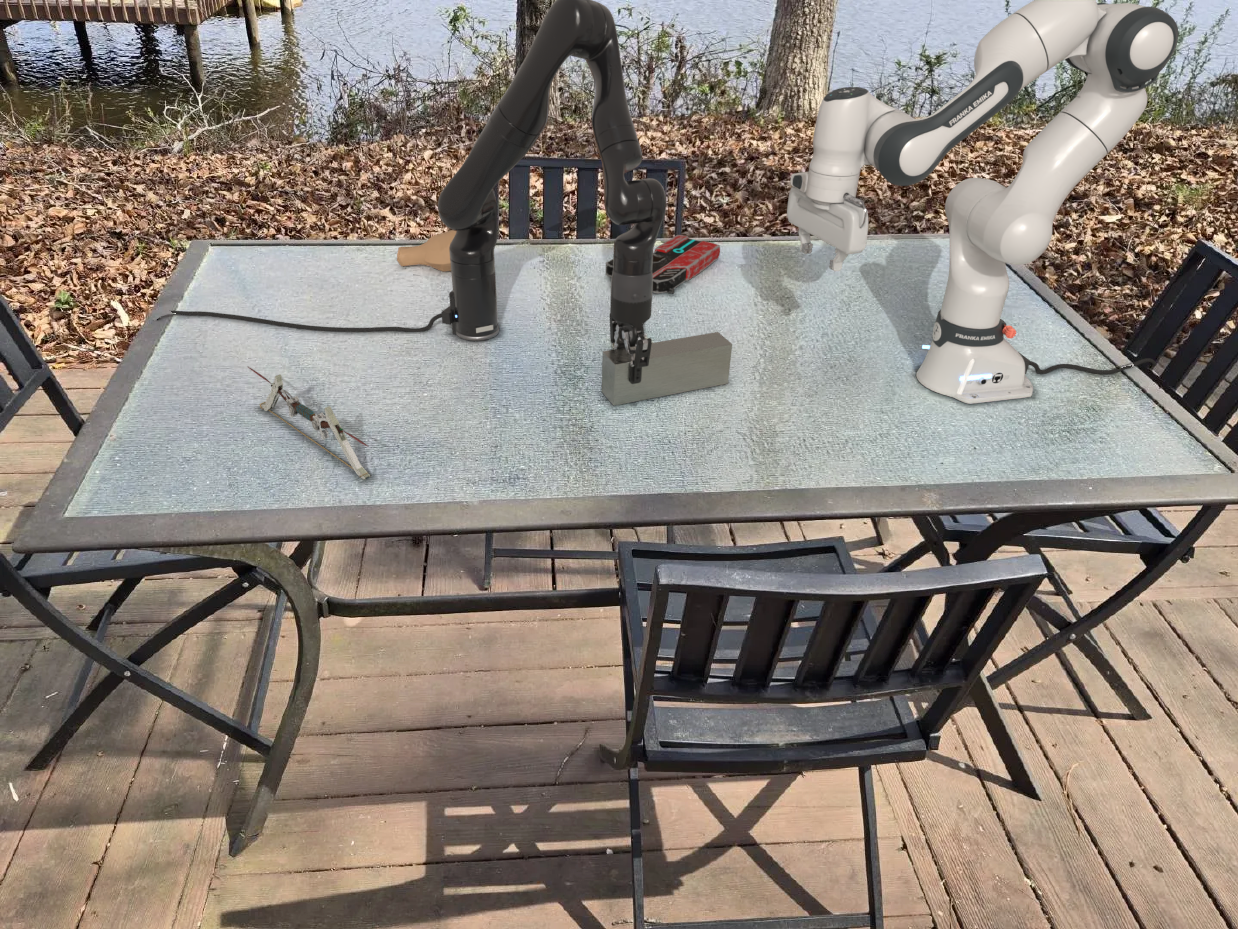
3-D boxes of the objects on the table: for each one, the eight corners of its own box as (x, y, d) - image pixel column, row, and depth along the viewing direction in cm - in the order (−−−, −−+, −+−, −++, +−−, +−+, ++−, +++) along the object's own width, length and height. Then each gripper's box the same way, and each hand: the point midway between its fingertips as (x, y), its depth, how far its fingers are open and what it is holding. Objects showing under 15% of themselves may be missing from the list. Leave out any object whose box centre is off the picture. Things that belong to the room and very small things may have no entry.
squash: (475, 275, 220) (467, 243, 214) (398, 282, 222) (387, 251, 216) (480, 253, 228) (473, 221, 222) (405, 260, 230) (396, 229, 224)
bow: (380, 482, 144) (372, 430, 139) (371, 487, 143) (362, 435, 137) (261, 400, 165) (250, 352, 160) (252, 403, 164) (240, 355, 159)
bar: (613, 405, 166) (614, 364, 161) (601, 391, 171) (602, 351, 166) (727, 383, 175) (732, 343, 170) (713, 370, 180) (717, 331, 175)
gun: (600, 263, 216) (668, 282, 208) (660, 227, 238) (724, 243, 230) (599, 280, 219) (667, 299, 211) (659, 243, 241) (723, 259, 233)
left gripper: (667, 304, 154) (662, 388, 164) (633, 275, 165) (630, 355, 174) (629, 310, 151) (625, 395, 161) (597, 280, 162) (595, 362, 172)
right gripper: (883, 201, 149) (868, 278, 156) (814, 169, 164) (803, 241, 172) (852, 205, 146) (839, 283, 154) (785, 172, 162) (776, 245, 170)
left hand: (628, 374), depth 168 cm, fingers closed on bar, 6 cm apart
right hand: (820, 261), depth 163 cm, fingers open, 8 cm apart
